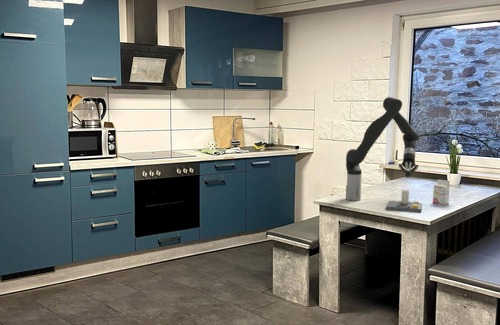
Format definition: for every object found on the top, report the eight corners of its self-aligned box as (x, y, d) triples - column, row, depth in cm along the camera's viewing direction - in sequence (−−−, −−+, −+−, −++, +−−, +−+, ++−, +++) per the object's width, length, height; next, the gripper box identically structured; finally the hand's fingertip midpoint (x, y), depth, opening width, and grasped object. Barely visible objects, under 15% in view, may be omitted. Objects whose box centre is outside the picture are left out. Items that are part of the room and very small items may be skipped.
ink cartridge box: (432, 202, 324) (433, 180, 322) (435, 201, 328) (437, 179, 326) (445, 204, 318) (446, 181, 316) (448, 203, 322) (450, 180, 320)
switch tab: (401, 203, 310) (401, 190, 309) (401, 202, 314) (402, 189, 313) (408, 203, 309) (408, 191, 308) (408, 202, 313) (409, 189, 312)
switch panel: (386, 209, 303) (386, 204, 302) (388, 203, 320) (388, 198, 319) (421, 212, 296) (421, 206, 296) (421, 206, 313) (422, 200, 312)
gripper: (398, 152, 336) (396, 172, 326) (419, 152, 332) (418, 173, 322) (399, 159, 342) (397, 179, 332) (419, 159, 337) (418, 180, 328)
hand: (407, 176), depth 327 cm, fingers closed
